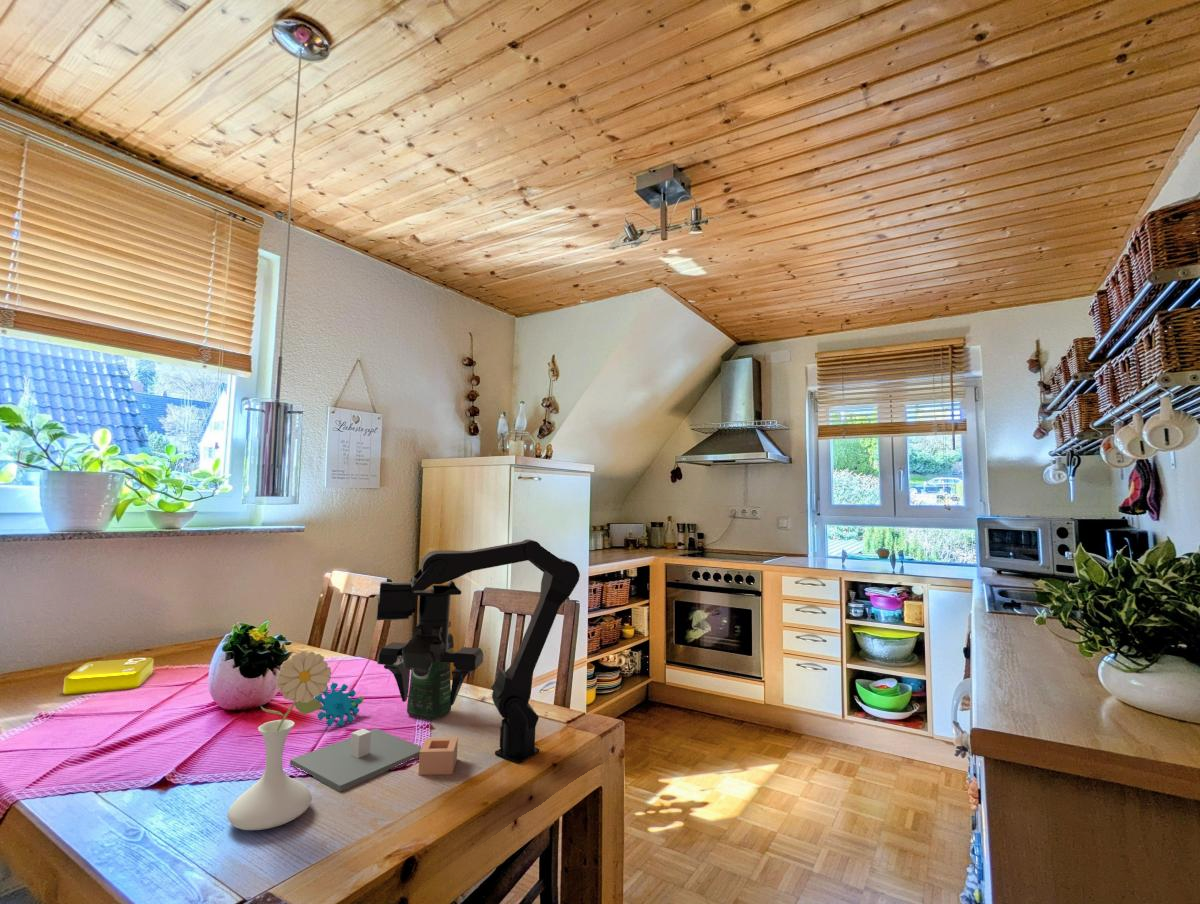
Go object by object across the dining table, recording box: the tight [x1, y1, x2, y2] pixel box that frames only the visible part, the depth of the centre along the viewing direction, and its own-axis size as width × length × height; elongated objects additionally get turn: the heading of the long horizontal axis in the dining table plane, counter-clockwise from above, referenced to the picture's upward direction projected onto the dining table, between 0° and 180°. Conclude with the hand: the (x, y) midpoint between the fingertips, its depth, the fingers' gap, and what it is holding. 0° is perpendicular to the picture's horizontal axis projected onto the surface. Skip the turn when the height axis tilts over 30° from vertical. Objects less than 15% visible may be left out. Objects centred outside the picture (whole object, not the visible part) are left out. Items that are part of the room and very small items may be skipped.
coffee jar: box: [406, 632, 455, 720], centre depth 133 cm, size 10×8×19 cm
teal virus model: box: [314, 682, 365, 727], centre depth 127 cm, size 11×6×10 cm
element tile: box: [62, 657, 155, 695], centre depth 147 cm, size 15×15×5 cm
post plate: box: [289, 728, 422, 793], centre depth 109 cm, size 16×18×5 cm
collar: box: [417, 737, 459, 776], centre depth 107 cm, size 6×6×4 cm
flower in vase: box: [226, 650, 332, 831], centre depth 90 cm, size 13×11×25 cm
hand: (428, 702), depth 107 cm, fingers open, 9 cm apart
